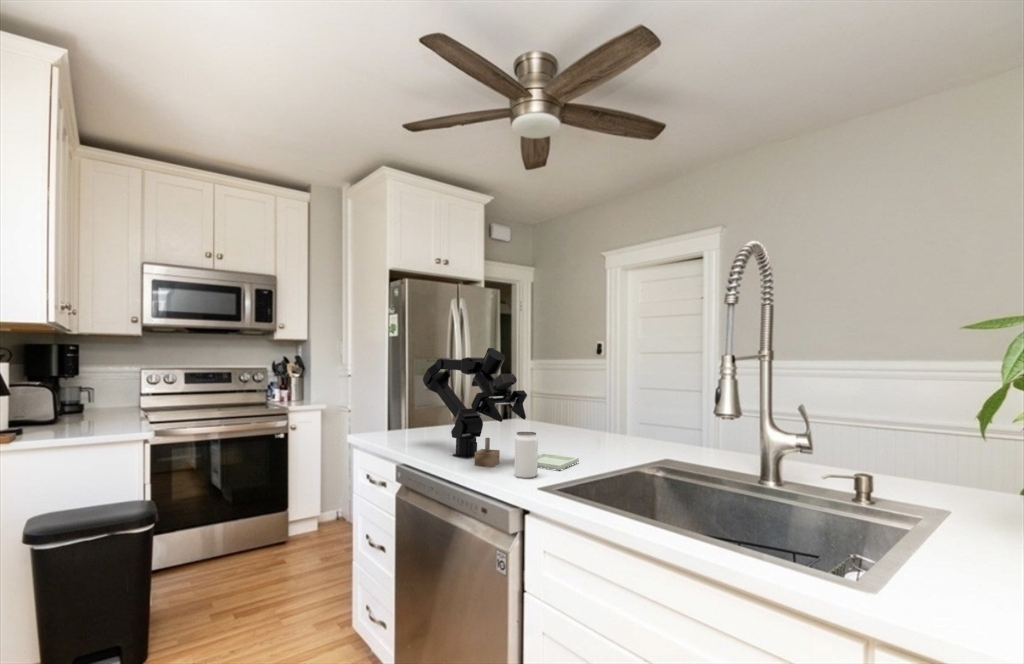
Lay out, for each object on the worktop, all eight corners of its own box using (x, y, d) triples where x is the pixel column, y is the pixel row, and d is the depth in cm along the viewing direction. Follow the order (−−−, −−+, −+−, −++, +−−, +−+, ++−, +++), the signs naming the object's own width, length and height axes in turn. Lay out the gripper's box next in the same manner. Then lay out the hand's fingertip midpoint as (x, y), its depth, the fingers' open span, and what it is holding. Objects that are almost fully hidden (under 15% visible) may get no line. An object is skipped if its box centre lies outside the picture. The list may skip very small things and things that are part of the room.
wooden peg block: (474, 465, 150) (475, 438, 150) (481, 461, 155) (482, 435, 156) (492, 467, 148) (493, 440, 148) (499, 463, 153) (499, 437, 154)
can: (532, 472, 142) (533, 430, 143) (540, 477, 136) (541, 434, 137) (511, 473, 140) (512, 431, 141) (518, 479, 134) (519, 435, 135)
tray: (522, 465, 151) (522, 459, 151) (542, 457, 162) (542, 453, 162) (560, 471, 144) (560, 465, 144) (578, 463, 155) (578, 458, 155)
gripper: (474, 365, 146) (500, 401, 136) (521, 365, 158) (547, 398, 148) (461, 393, 151) (484, 429, 141) (507, 391, 163) (532, 424, 153)
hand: (513, 419), depth 146 cm, fingers open, 9 cm apart
